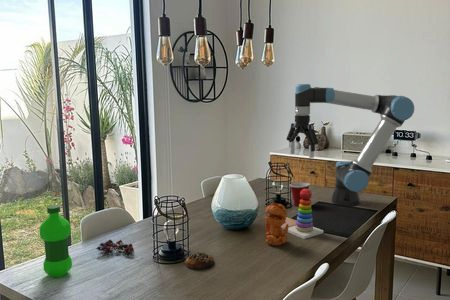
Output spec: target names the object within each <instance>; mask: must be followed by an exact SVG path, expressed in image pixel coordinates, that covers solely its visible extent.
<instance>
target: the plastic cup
mask: <svg viewBox="0 0 450 300" xmlns="http://www.w3.org/2000/svg"><path fill="white" fill-rule="evenodd" d="M310 185H311V184H310V183H307V182H294V183H289V187H290V189H291V190H290V191H291V196H292V200H293V204H294V207H298V208H299V204H300V200H301V199H302V198H301V196H300V192H301V191H302V190H303V189H309V187H310Z"/></svg>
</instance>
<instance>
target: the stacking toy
mask: <svg viewBox="0 0 450 300" xmlns="http://www.w3.org/2000/svg"><path fill="white" fill-rule="evenodd" d="M312 195H313V194H312V191H311V190H310V189H309V188H308V189H303V190H302V191H301V192H300V196H301V198H302V199H301V200H300V204H299V207H298V209H297V210H298V211H297V217H296V226H295V228H296V229H297V230H298V231H301V232H310V231H312V230H313V227H314V222H313V220H314V219H313V213H312V212H313V210H312V200H311V198H312Z"/></svg>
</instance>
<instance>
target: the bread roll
mask: <svg viewBox="0 0 450 300" xmlns="http://www.w3.org/2000/svg"><path fill="white" fill-rule="evenodd" d="M214 262H215V259H214V257H213V256H212V255H211V254H209V253H207V252H203V251H201V252H199V251H198V252H196V253H194V254H191V255H189V256H188V257H187V258H186V259H185V260H184V263H185V265H186V266H187V267H188V268H190V269H194V270H206V269H210V268H212V266H213V265H214ZM209 267H210V268H209Z"/></svg>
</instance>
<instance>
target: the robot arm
mask: <svg viewBox="0 0 450 300" xmlns="http://www.w3.org/2000/svg"><path fill="white" fill-rule="evenodd" d="M311 86H312V85H311V84H310V83H299V84H296V85H295V93H294V100H295V101H294V114H295V115H294V122H292V123H290V129H289V130H288V133H287V137H286V141H288V142H289V145H288V146H289V155H295V147H296V142H295V140H296V139H297V137H298V135H299V134H304V135H305V137H306V139H307V141H308V143H309V145H308V158H309V159H314V157H315V151H316V145H318V144H319V140H318V138H317V134H316V132H315V125H314V124H310V121H311V116H310V114H311V104H317V103H319V104H325V103H326V104H329V105H336V106H344V107H348V108H356V109H361V110H362V109H363V110H367V111H371V112H372V113H374V114H379V115H380V121H379V122H378V124H377V125H376V127H375V129H374V130H373V132H372V133H371V135H370V137H369V138H368V140H367V141H366V143H365V145H364V146H363V147H362V148H361V151H360V152H359V154H358V156H357V157H356V159H353V160H343V161H341V160H340V161H337V162H336V163H335V182H334V183H335V184H334V185H335V186H334V190H333V193H332V196H331V203H333V204H335V205H338V206H345V207H346V206H347V207H348V206H357V205H360V203H361V202H360V201H361V199H360V196H359V192H362V191H364V190H365V189H366V188H367V187H368V185H369V183H370V176H371V174H372V173H373V170H372V167H373V166H374V164H375V162H376V161H377V159H378V158H379V157H380V155H381V154H382V152H383V150H384V148H385V146H386V145H387V143H388V142H389V140H390V139H391V137H392V136H393V134H394V132H395V131H396V130H397V128H400V127H402V126H403V124H404V123H405V121H407V120H409V119H410V118H412V116H413V115H414V113H415V104H414V102H413V101H412V99H410V98H409V97H407V96H404V95H392V94H390V95H389V94H388V95H383V94H382V95H381V94H375V95H370V94H369V95H368V94H361V93H356V92H355V93H354V92H349V91H344V90H339V89H337V90H336V89H334V88H333V87H319V86H318V87H317V86H315V87H311Z"/></svg>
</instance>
